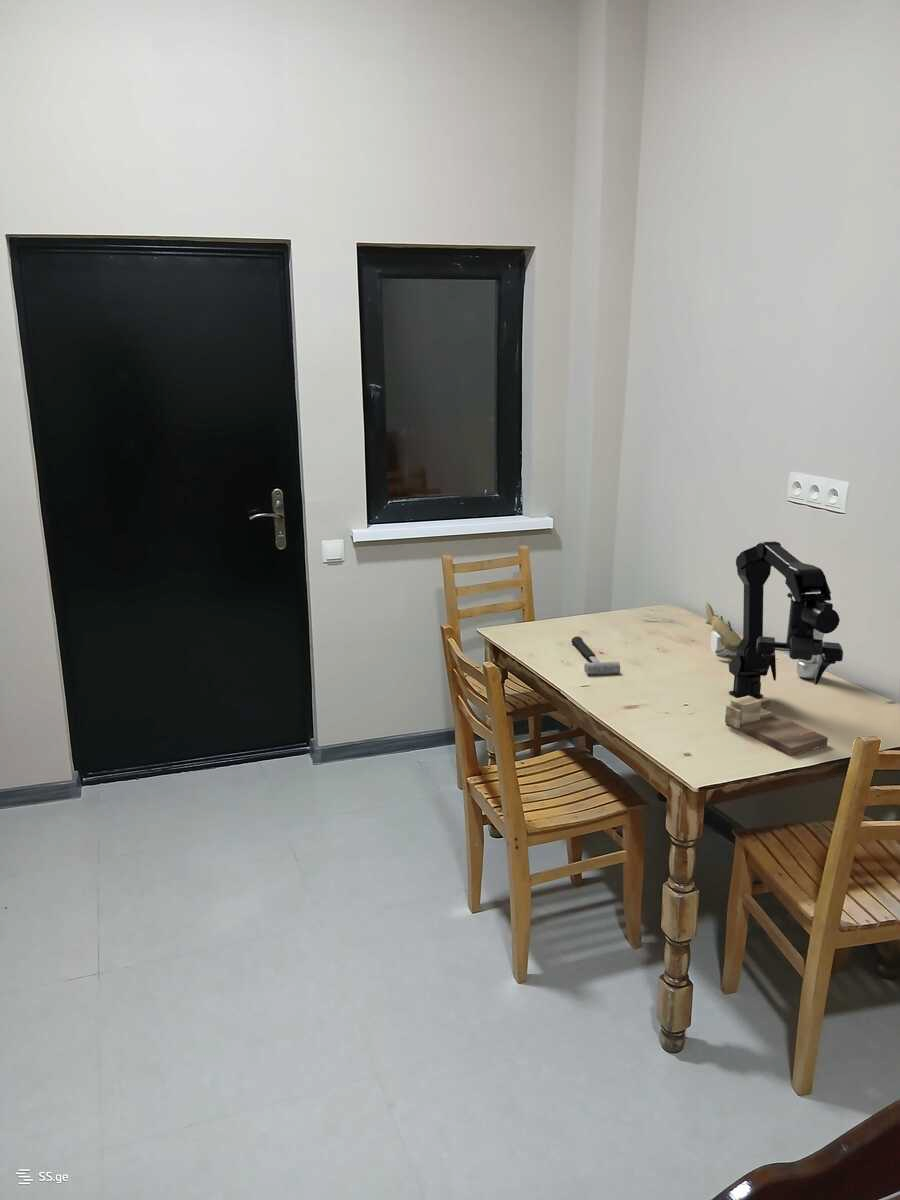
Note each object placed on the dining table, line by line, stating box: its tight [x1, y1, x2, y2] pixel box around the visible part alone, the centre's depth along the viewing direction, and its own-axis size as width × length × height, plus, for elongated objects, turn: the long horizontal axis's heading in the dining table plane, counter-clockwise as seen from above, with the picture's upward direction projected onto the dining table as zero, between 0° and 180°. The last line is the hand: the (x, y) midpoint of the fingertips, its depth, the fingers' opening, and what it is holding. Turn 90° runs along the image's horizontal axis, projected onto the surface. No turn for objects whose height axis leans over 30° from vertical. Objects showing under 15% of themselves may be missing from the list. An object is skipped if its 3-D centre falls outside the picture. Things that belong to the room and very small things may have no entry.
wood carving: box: [705, 601, 743, 657], centre depth 261 cm, size 9×35×11 cm, turn 179°
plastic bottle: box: [796, 629, 825, 680], centre depth 236 cm, size 6×7×20 cm
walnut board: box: [725, 708, 829, 757], centre depth 201 cm, size 20×12×2 cm, turn 27°
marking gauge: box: [724, 696, 771, 728], centre depth 205 cm, size 4×12×6 cm, turn 117°
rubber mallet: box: [570, 636, 621, 676], centre depth 256 cm, size 10×4×30 cm
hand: (794, 682), depth 200 cm, fingers open, 9 cm apart
